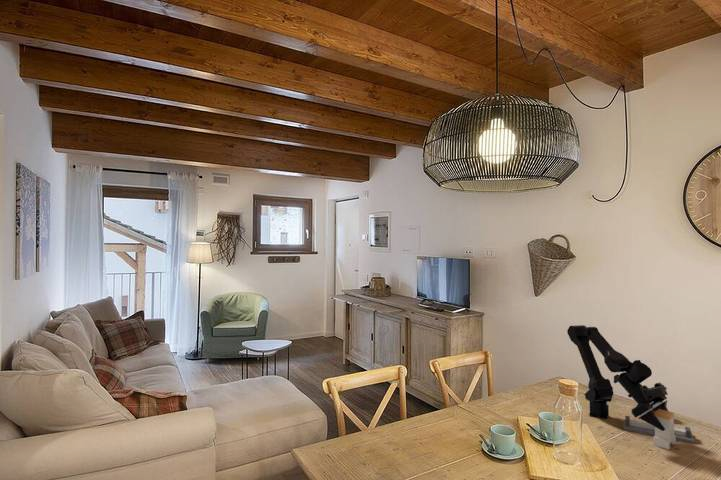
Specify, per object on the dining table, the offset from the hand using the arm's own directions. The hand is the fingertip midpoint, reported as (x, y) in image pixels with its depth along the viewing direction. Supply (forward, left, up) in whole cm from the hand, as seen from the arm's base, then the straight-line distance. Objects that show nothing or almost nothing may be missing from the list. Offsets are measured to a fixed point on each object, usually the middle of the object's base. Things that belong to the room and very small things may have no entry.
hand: (668, 426), depth 149 cm
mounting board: (-3, +10, -7) cm, 13 cm away
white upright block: (-1, 0, -7) cm, 7 cm away
